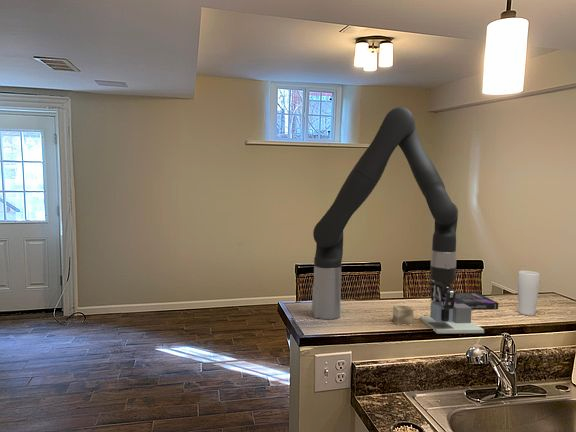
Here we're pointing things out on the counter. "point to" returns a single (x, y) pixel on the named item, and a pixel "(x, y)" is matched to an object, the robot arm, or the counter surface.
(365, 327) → the counter surface
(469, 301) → the box
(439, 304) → the slate block
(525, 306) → the drinking glass
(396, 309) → the maple block
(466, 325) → the build plate
